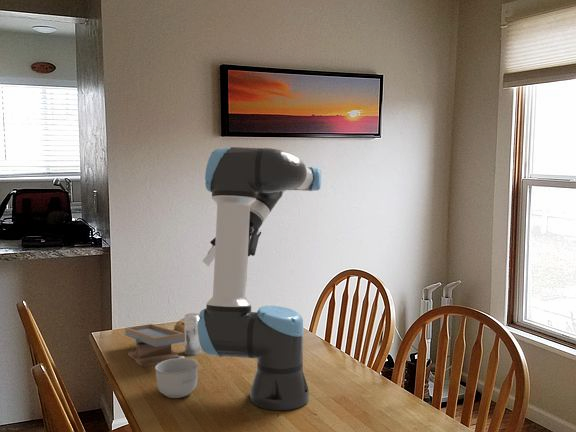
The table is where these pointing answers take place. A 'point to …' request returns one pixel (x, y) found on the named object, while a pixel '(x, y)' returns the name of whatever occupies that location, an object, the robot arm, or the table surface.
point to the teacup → (176, 377)
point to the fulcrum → (151, 354)
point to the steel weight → (192, 334)
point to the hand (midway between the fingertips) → (218, 267)
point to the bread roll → (180, 326)
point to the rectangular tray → (154, 335)
